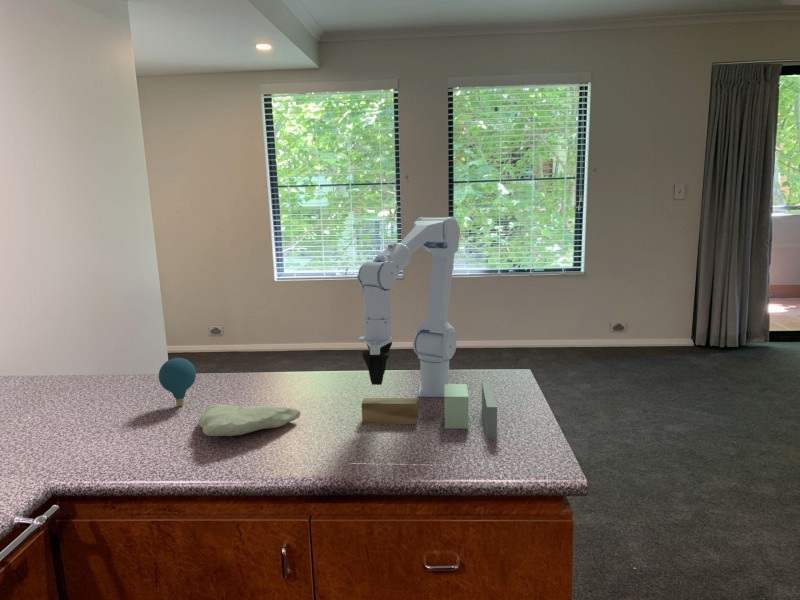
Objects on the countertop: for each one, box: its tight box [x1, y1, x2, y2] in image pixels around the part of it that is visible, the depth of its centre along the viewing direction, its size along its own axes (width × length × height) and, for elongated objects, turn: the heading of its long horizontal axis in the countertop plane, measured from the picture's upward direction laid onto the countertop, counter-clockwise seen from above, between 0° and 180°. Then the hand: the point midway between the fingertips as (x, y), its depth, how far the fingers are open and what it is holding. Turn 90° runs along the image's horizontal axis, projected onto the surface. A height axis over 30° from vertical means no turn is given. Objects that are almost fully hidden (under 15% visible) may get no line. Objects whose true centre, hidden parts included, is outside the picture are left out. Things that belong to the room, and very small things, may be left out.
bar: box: [361, 397, 419, 425], centre depth 118 cm, size 4×12×5 cm, turn 86°
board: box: [481, 380, 498, 440], centre depth 115 cm, size 16×2×7 cm, turn 175°
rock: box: [197, 403, 301, 437], centre depth 115 cm, size 24×6×20 cm
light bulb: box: [158, 357, 197, 407], centre depth 130 cm, size 8×8×12 cm
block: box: [443, 383, 469, 430], centre depth 117 cm, size 8×5×7 cm, turn 175°
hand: (378, 378), depth 117 cm, fingers open, 7 cm apart
